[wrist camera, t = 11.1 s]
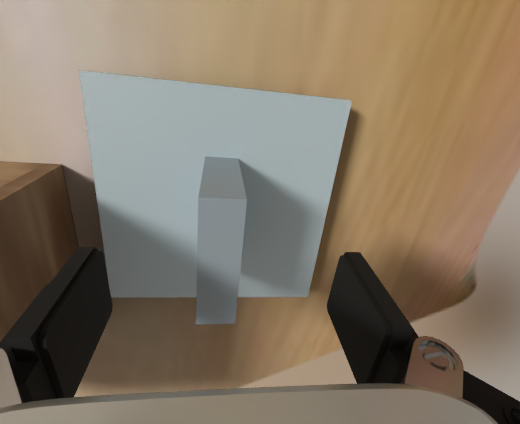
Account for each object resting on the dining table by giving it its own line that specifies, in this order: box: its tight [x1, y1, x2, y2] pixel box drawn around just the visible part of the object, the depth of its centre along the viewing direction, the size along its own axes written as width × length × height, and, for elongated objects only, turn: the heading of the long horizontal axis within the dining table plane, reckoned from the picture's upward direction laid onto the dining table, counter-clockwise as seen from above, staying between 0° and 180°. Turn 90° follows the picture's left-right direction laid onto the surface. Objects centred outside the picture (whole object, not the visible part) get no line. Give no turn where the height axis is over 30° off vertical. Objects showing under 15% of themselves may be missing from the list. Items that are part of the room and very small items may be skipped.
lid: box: [79, 70, 352, 325], centre depth 17 cm, size 15×15×9 cm
